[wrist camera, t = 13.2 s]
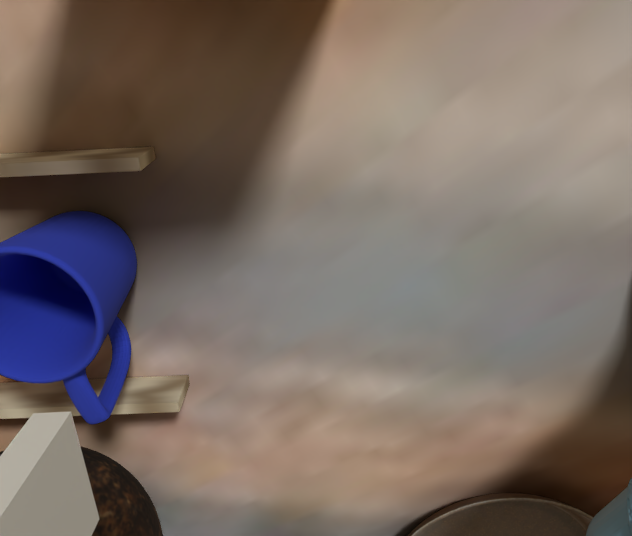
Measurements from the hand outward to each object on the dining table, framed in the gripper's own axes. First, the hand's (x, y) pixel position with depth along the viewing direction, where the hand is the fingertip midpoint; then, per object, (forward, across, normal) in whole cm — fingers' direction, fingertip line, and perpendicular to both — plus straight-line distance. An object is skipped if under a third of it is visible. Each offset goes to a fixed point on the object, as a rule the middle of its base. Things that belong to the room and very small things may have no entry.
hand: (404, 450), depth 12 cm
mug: (+28, +18, +7) cm, 34 cm away
